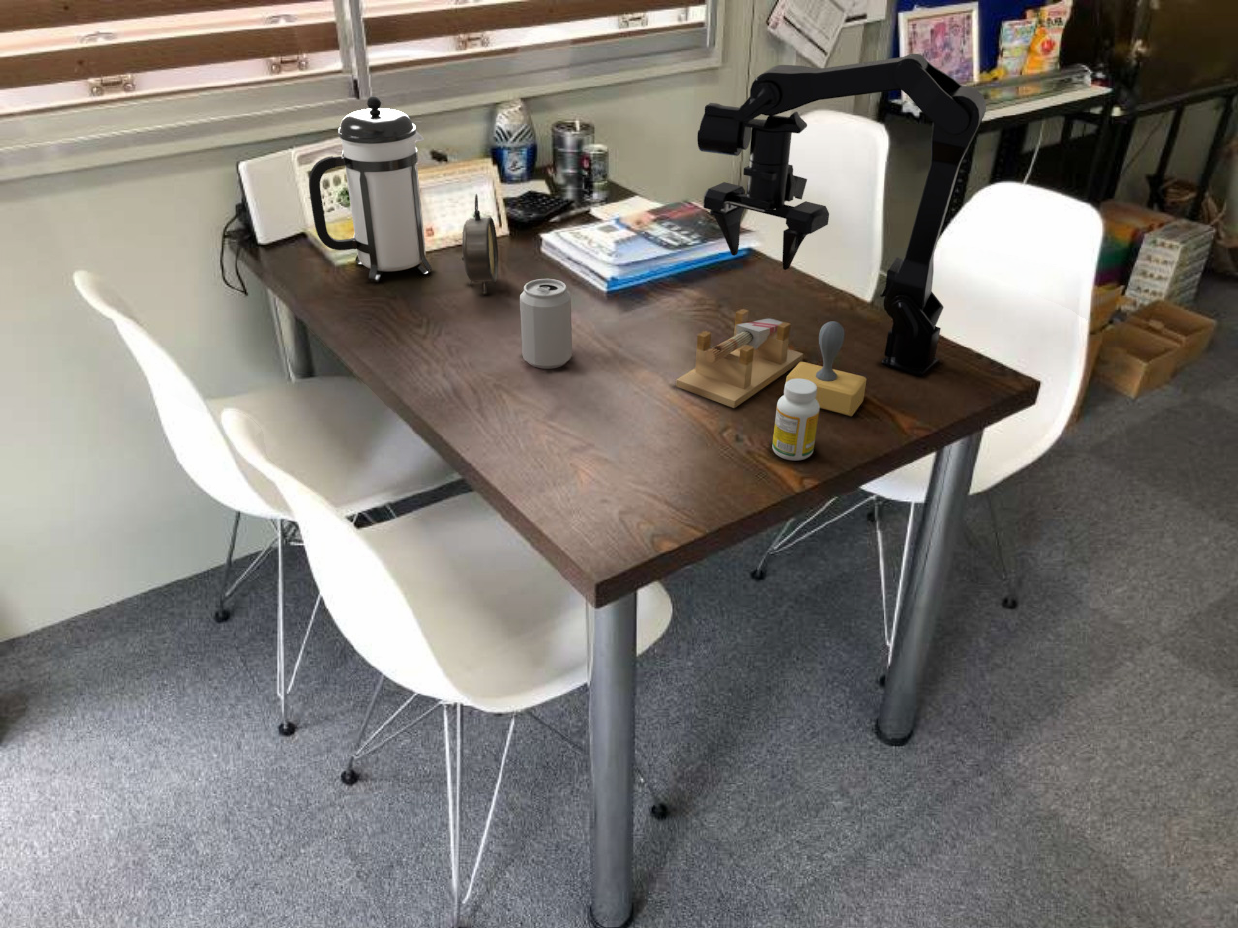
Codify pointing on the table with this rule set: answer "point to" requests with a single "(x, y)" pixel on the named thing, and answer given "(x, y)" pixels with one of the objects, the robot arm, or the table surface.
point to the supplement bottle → (796, 420)
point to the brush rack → (740, 366)
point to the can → (546, 323)
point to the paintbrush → (744, 338)
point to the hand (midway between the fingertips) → (759, 262)
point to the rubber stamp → (832, 375)
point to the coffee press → (377, 190)
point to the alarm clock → (480, 249)
